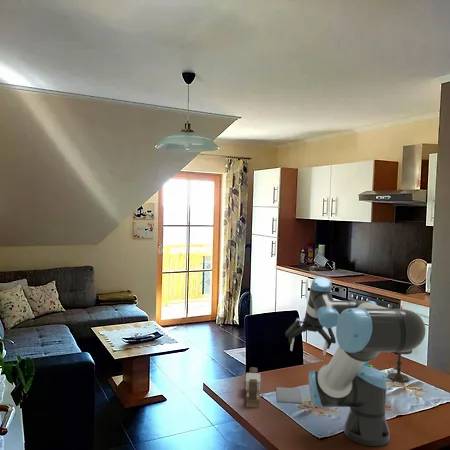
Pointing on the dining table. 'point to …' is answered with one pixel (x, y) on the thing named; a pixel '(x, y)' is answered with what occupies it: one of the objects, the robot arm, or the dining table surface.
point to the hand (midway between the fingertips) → (307, 350)
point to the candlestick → (398, 376)
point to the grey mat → (288, 395)
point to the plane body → (252, 391)
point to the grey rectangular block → (253, 376)
